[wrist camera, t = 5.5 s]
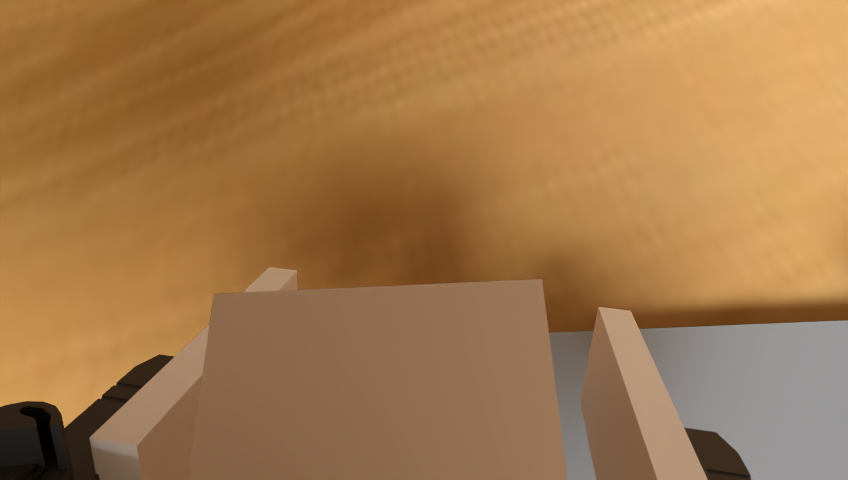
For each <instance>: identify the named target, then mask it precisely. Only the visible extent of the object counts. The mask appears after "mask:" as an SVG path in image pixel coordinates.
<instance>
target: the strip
mask: <svg viewBox="0 0 848 480" xmlns="http://www.w3.org/2000/svg"><path fill="white" fill-rule="evenodd" d="M639 330H640V332H641V334H642V337H643V339H644V341H645V343H646V345H647V348H648V350H649V352H650V354H651V356H652V359H653V361H654V363H655V365H656V367H657V370H658V372H659V374H660V376H661V378H662V381H663V383H664V385H665V387H666V389H667V391H668V394H669V396H670V398H671V400H672V402H673V405H674V407H675V409H676V411H677V413H678V416H679V418H680V420H681V422H682V424H683V427H684V428H691V429H698V430H705V431H712V432H717V433H718V434H719V435H720V436H721V437H722V438H723V439H724V440H725V441H726V442H727V443H728V444H729V445H730V446H731V447H733V448H734V449H735V450H736V451H737V452H738V453H739V455H740V457H741V459H742V460H743V462H744V464H745V466H746V468H747V469H748V471H749V473H750V475H751V480H848V320H843V321H818V322H794V323H770V324H746V325H722V326H698V327H673V328H649V329H639ZM593 332H594V331H577V332H553V333H549V329H548V321H547V314H546V306H545V298H544V290H543V282H542V279H529V280H507V281H485V282H463V283H440V284H418V285H396V286H374V287H352V288H330V289H307V290H285V291H263V292H241V293H219V294H214V296H213V303H212V310H211V317H210V324H209V331H208V338H207V345H206V352H205V359H204V366H203V373H202V380H201V388H200V395H199V402H198V409H197V416H196V423H195V430H194V437H193V444H192V451H191V458H190V465H189V472H188V479H187V480H596V477H595V472H594V467H593V462H592V458H591V453H590V448H589V443H588V438H587V433H586V428H585V423H584V418H583V413H582V408H581V403H580V397H581V392H582V387H583V382H584V377H585V372H586V367H587V362H588V357H589V352H590V347H591V342H592V337H593Z"/></svg>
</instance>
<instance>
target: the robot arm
mask: <svg viewBox="0 0 848 480" xmlns="http://www.w3.org/2000/svg"><path fill="white" fill-rule="evenodd" d="M285 290H298V282H297V270H290V269H282V268H274V267H269V268H268V269H267V270H265V271H264V272H263V273H262V274H261V275H260V276H259V277H258V278H257V279H256V280H255V281H254V282H253V283H252V284H251V285H250V286H249V287H248V288H247V289H245V290H244V291H243V292H263V291H285ZM208 331H209V325H208V326H207V327H205V328H204V329H203V330H202V331H201V332H200V333H199V334H198V335H197V336H196V337H195V338H194V339H193V340H192V341H191V342H190V343H189V344H188V345H187V346H185V347H184V348H183V349H182V350H181V351H180V352H179V353H178V354H177V355H176V356H175V357H173V356H166V355H158V356H156V357H154V358H152V359H150V360H148V361H145V362H143V363H141V364H139V365H137V366H135V367H134V368H133V369H132V370H131V371H130V372H128V373H127V374H126V375H125V376H124V377H123V378H122V379H120V380H119V381H118V382H117V385H116V386H112V387H111V388H110V389H109V390H108V391H107V392H106V393H104V394H103V395H102V398H101V399H98V400H96V401H95V402H94V403H93V404H92V405H91V406H90V407H88V408H87V409H86V410H85V411H84V412H83V413H82V414H80V415H79V416H78V417H77V418H76V419H75V420H74V421H72V422H71V423H70V424H69V425H68V426H67V427H66V428H64V425H63V420H62V416H61V413H60V412H59V410H58V409H57V407H56V406H54V405H51V404H48V403H45V402H28V401H26V402H20V403H15V404H10V405H5V406H2V407H0V480H187V479H188V472H189V465H190V458H191V451H192V444H193V437H194V430H195V423H196V416H197V409H198V402H199V395H200V388H201V380H202V373H203V366H204V359H205V352H206V345H207V338H208ZM580 403H581V408H582V413H583V418H584V423H585V428H586V433H587V438H588V443H589V448H590V453H591V458H592V462H593V467H594V472H595V477H596V480H751V475H750V473H749V471H748V469H747V468H746V466H745V464H744V462H743V460H742V459H741V457H740V455H739V453H738V452H737V451H736V450H735V449H734V448H733V447H731V446H730V445H729V444H728V443H727V442H726V441H725V440H724V439H723V438H722V437H721V436H720V435H719V434H718V433H717V432H712V431H705V430H698V429H691V428H684V427H683V424H682V422H681V420H680V418H679V416H678V413H677V411H676V409H675V407H674V405H673V402H672V400H671V398H670V396H669V394H668V391H667V389H666V387H665V385H664V383H663V381H662V378H661V376H660V374H659V372H658V370H657V367H656V365H655V363H654V361H653V359H652V356H651V354H650V352H649V350H648V348H647V345H646V343H645V341H644V339H643V337H642V334H641V332H640V330H639V328H638V326H637V323H636V321H635V319H634V317H633V315H632V313H631V311H630V310H622V309H613V308H605V307H598V312H597V317H596V322H595V327H594V332H593V337H592V342H591V347H590V352H589V357H588V362H587V367H586V372H585V377H584V382H583V387H582V392H581V397H580Z"/></svg>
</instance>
